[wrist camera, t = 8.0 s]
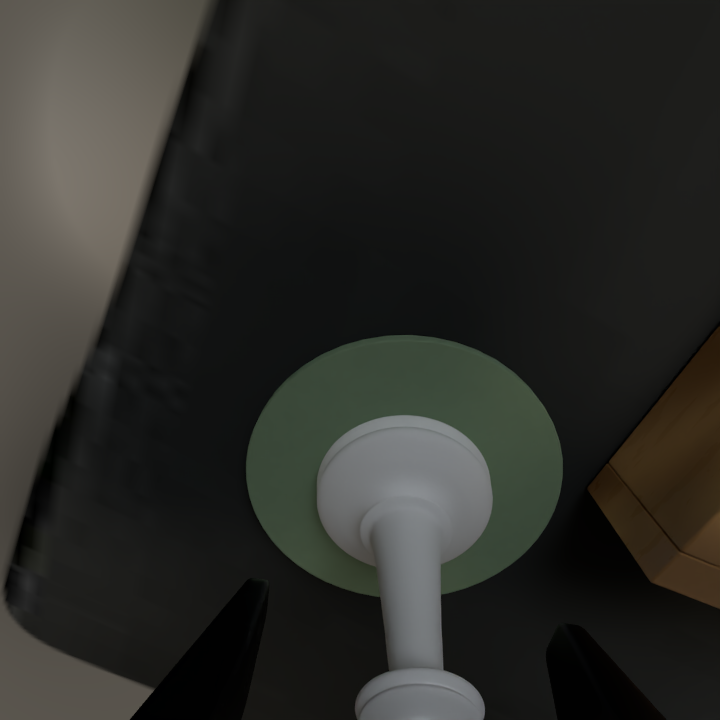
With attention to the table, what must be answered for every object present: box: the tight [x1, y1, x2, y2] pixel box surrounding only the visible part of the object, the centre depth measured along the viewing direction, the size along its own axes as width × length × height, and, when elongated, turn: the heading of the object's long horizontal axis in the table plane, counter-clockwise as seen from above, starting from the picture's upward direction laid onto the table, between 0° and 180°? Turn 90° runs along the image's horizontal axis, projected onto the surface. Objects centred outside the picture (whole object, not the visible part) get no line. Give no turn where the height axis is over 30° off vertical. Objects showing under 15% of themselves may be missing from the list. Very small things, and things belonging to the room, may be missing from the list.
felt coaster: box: [246, 335, 563, 597], centre depth 12 cm, size 9×9×1 cm
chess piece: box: [317, 415, 493, 720], centre depth 8 cm, size 5×5×10 cm
